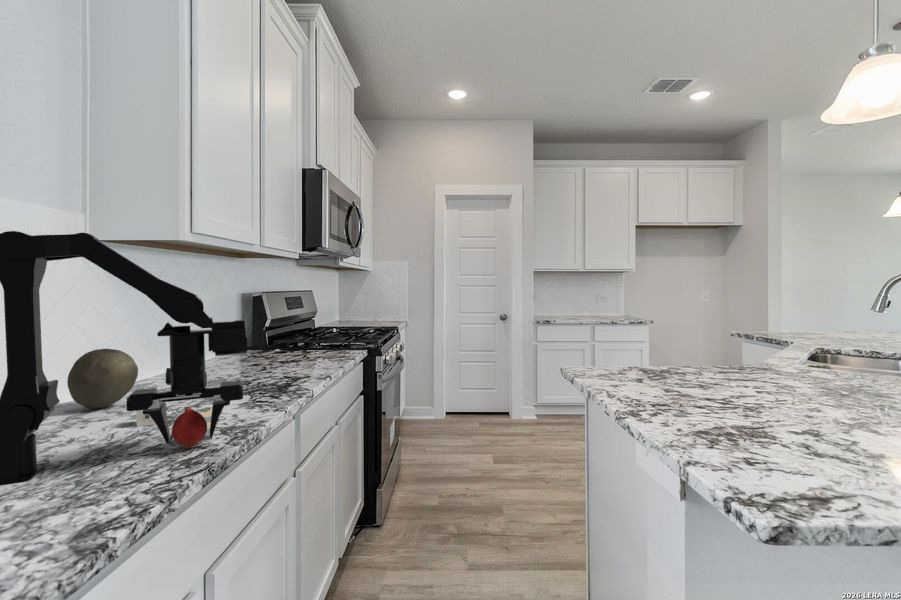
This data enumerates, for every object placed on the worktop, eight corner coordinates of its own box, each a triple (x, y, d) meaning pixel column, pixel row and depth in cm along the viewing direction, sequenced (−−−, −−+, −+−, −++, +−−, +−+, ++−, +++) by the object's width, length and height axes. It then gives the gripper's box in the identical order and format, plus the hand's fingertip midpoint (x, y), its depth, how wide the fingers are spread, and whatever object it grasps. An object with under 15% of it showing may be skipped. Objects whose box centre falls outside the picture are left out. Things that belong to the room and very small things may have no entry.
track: (212, 438, 92) (212, 434, 92) (171, 444, 89) (171, 440, 89) (216, 413, 110) (216, 410, 110) (182, 417, 107) (182, 414, 107)
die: (157, 424, 102) (157, 406, 102) (136, 426, 100) (136, 408, 100) (160, 419, 106) (160, 402, 106) (140, 422, 104) (139, 404, 104)
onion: (200, 440, 90) (199, 401, 90) (212, 447, 87) (211, 405, 87) (167, 449, 86) (166, 407, 86) (179, 456, 82) (178, 412, 82)
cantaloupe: (82, 417, 108) (80, 354, 107) (60, 409, 115) (57, 350, 115) (147, 404, 119) (146, 347, 119) (123, 397, 127) (121, 344, 127)
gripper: (241, 349, 97) (243, 421, 98) (137, 356, 89) (139, 434, 90) (242, 356, 87) (243, 437, 88) (124, 364, 79) (127, 453, 80)
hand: (190, 439), depth 86 cm, fingers open, 7 cm apart
